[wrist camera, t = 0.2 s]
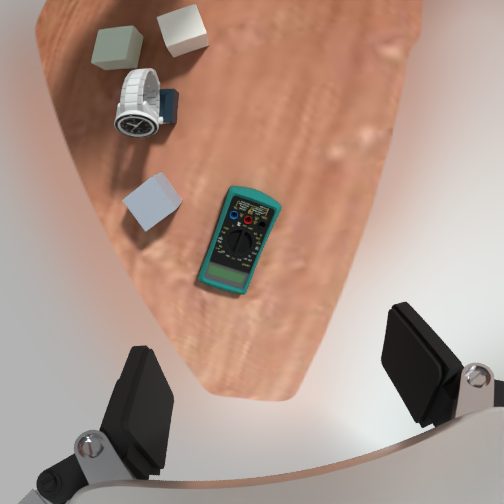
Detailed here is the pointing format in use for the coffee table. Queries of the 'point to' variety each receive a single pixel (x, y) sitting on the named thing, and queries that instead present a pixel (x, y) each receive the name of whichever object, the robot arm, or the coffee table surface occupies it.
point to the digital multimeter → (239, 239)
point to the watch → (145, 104)
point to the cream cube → (183, 30)
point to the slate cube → (153, 201)
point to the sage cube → (117, 48)
